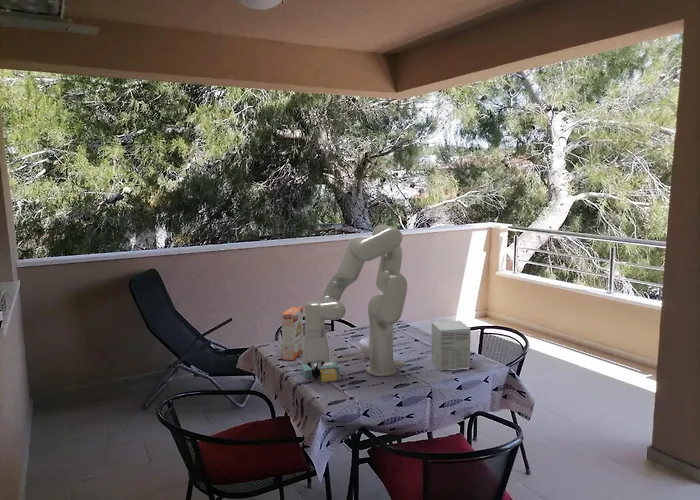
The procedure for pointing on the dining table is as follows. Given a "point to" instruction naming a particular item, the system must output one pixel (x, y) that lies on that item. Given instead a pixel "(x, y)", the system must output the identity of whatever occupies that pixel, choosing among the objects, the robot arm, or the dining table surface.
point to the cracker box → (292, 333)
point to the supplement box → (450, 345)
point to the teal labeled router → (330, 365)
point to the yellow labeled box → (328, 375)
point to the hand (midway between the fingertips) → (315, 377)
